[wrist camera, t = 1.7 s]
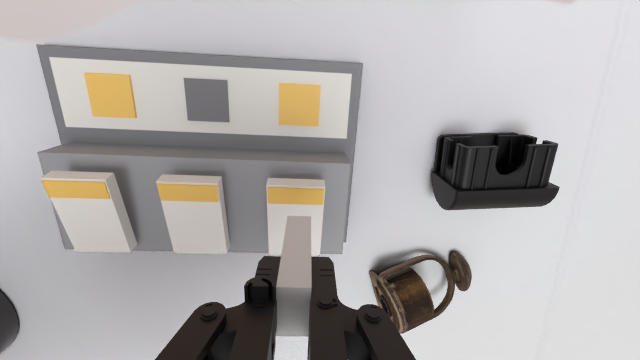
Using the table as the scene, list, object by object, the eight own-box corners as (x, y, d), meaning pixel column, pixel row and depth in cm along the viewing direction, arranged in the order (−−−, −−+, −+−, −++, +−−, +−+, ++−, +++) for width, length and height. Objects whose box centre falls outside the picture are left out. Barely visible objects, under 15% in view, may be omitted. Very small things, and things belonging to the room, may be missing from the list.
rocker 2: (270, 246, 30) (268, 256, 29) (267, 177, 26) (266, 185, 25) (319, 247, 30) (320, 257, 29) (324, 179, 26) (325, 187, 25)
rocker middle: (178, 244, 29) (173, 254, 28) (162, 174, 25) (155, 182, 24) (230, 245, 30) (226, 255, 28) (221, 176, 26) (217, 184, 24)
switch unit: (90, 232, 35) (56, 257, 30) (45, 45, 28) (-8, 39, 23) (344, 237, 36) (350, 262, 32) (360, 63, 30) (371, 62, 25)
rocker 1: (84, 242, 29) (74, 252, 28) (51, 170, 25) (39, 178, 24) (137, 243, 29) (130, 253, 28) (113, 172, 25) (104, 180, 24)
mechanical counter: (381, 261, 32) (369, 346, 33) (501, 274, 31) (485, 360, 33) (371, 239, 39) (362, 310, 40) (469, 250, 38) (457, 321, 40)
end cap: (426, 194, 35) (453, 221, 29) (432, 134, 33) (464, 149, 26) (508, 190, 35) (553, 216, 29) (521, 131, 33) (573, 146, 27)
